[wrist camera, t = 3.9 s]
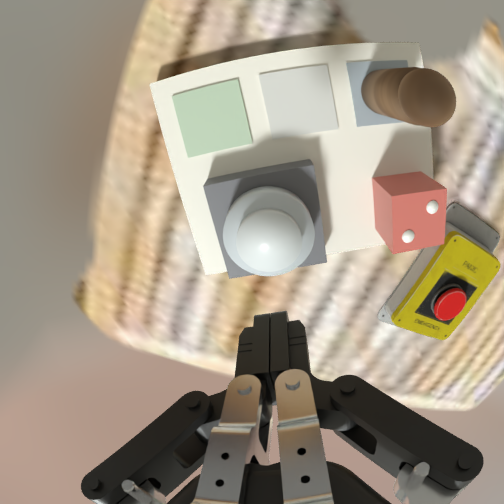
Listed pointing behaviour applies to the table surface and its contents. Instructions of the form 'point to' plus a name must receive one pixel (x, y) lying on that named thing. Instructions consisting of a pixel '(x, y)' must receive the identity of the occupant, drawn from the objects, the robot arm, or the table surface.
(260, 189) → the dome
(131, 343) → the table surface
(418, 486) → the robot arm
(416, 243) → the die
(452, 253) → the emergency button
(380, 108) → the pawn
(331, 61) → the board
